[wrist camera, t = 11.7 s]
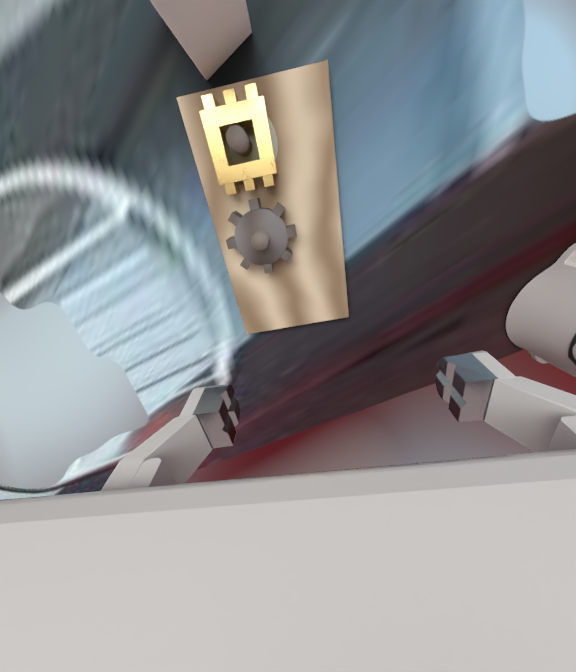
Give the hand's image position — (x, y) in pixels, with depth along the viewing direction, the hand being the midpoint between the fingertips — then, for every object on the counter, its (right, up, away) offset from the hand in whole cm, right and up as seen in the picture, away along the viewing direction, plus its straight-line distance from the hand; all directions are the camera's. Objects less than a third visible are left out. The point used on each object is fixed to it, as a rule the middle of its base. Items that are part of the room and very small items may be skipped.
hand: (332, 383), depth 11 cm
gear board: (-3, +16, +23) cm, 28 cm away
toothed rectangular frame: (-6, +22, +17) cm, 29 cm away
